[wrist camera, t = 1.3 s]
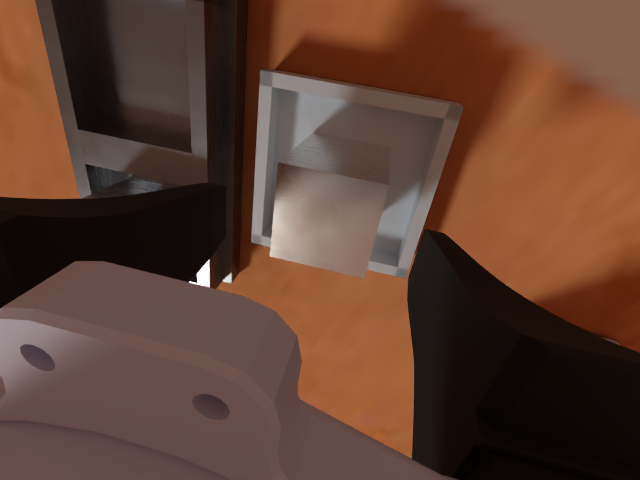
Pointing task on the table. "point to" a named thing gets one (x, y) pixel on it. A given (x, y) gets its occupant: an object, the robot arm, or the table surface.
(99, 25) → the metal divided rack
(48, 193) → the table surface
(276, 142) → the grey square tray
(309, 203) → the loose billet
